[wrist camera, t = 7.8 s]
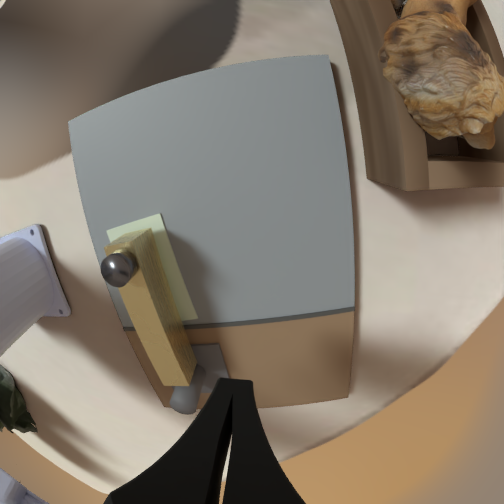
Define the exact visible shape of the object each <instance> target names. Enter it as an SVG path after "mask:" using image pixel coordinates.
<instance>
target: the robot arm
mask: <svg viewBox="0 0 504 504" xmlns="http://www.w3.org/2000/svg"><path fill="white" fill-rule="evenodd" d="M33 231H34V232H33ZM70 314H71V310H70V307H69V305H68V303H67V300H66V298H65V296H64V293H63V291H62V288H61V286H60V283H59V280H58V278H57V275H56V272H55V270H54V267H53V264H52V261H51V258H50V255H49V252H48V249H47V245H46V242H45V239H44V235H43V232H42V228H41V226H40V225H39V224H35V225H32V226H30V227H27V228H24V229H21V230H19V231H16V232H14V233H11V234H9V235H6V236H4V237H1V238H0V357H1V356H2V355H3V354H4V352H5V351H6V350H7V349H8V348H9V347H10V346H11V345H12V344H13V343H14V342H15V341H16V340H18V339H19V338H20V337H21V336H22V335H23V334H24V333H25V332H26V331H27V330H28V329H29V328H30V327H31V326H32V325H33V324H34V323H35V322H36V321H38V320H39V319H40V318H41V317H42V316H60V317H67V316H69V315H70ZM231 435H232V445H231V452H230V458H229V465H228V472H227V478H226V485H225V491H224V497H223V503H222V504H306V503H305V502H304V501H303V499H302V498H301V497H300V496H299V494H298V493H297V491H296V490H295V489H294V487H293V486H292V484H291V483H290V482H289V480H288V478H287V477H286V475H285V473H284V472H283V470H282V468H281V466H280V465H279V463H278V461H277V459H276V457H275V455H274V453H273V451H272V449H271V447H270V444H269V442H268V440H267V437H266V435H265V432H264V429H263V427H262V424H261V420H260V417H259V414H258V410H257V406H256V402H255V397H254V389H253V381H251V380H243V379H231V378H221V377H220V378H218V379H217V382H216V384H215V386H214V388H213V391H212V392H211V394H210V396H209V398H208V400H207V401H206V403H205V405H204V406H203V408H202V409H201V411H200V412H199V414H198V415H197V417H196V418H195V420H194V421H193V422H192V424H191V425H190V426H189V427H188V429H187V430H186V431H185V433H184V434H183V435H182V436H181V437H180V439H179V440H178V441H177V442H176V443H175V444H174V445H173V446H172V447H171V448H170V449H169V450H168V451H167V452H166V453H165V454H164V455H163V456H162V457H161V458H160V459H159V460H157V461H156V462H155V463H154V464H153V465H152V466H150V467H149V468H148V469H146V470H145V471H144V472H142V473H141V474H140V475H138V476H137V477H136V478H134V479H133V480H131V481H129V482H128V483H126V484H124V485H123V486H121V487H119V488H118V489H116V490H114V491H112V492H111V493H110V494H109V495H108V497H107V498H106V500H105V502H104V504H219V497H220V489H221V481H222V475H223V470H224V465H225V461H226V457H227V452H228V448H229V444H230V439H231ZM0 504H49V503H47V502H45V501H44V500H42V499H41V498H39V497H38V496H36V495H35V494H33V493H32V492H30V491H29V490H27V488H26V487H24V486H23V485H22V484H20V483H19V482H18V481H16V480H15V479H14V478H12V477H11V476H10V475H9V474H7V473H6V472H5V471H4V470H3V469H1V468H0Z"/></svg>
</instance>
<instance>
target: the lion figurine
mask: <svg viewBox="0 0 504 504" xmlns="http://www.w3.org/2000/svg"><path fill="white" fill-rule="evenodd" d="M404 1H405V0H391V3H392V5H393V8H394V9H398V8H399V7H400V6H401V5H402V3H403V2H404ZM476 1H477V0H408V1H407V2H406V4H405V6H404V8H403V11H402V14H401V17H400V19H398V20H396V21H395V22H393V23H392V24H391V25H390V26H389V27H388V29H387V31H386V32H385V34H384V41H385V42H384V44H383V46H382V47H381V48H380V50H379V52H378V58H379V60H380V62H382V63H386V60H387V61H388V62H387V66H386V67H384V68H383V76H384V77H385V78H386V79H387V80H388V81H389V82H390V83H392V85H393V87H394V88H395V89H396V90H397V91H398V92H399V94H400V95H401V96H402V98H403V99H404V104H405V105H406V106H407V108H408V112H409V113H410V114H411V115H412V116H413V119H414V120H415V121H416V122H417V123H418V124H419V125H420V126H421V128H422V129H424V130H425V131H427V133H428V134H430V135H431V136H433V137H435V138H436V139H438V140H441V139H443V138H445V137H449V136H459V137H461V138H464V139H466V140H467V142H468V143H469V144H470V145H471V146H472V147H474V148H479V149H483V148H485V149H488V150H489V149H491V148H492V147H493V146H494V145H495V135H494V124H495V123H496V121H497V119H498V117H501V116H502V114H503V113H504V77H503V76H501V75H499V73H498V72H497V68H496V66H495V64H494V63H493V62H492V61H491V58H490V56H489V55H488V54H487V53H486V52H483V51H482V49H481V47H480V45H479V44H478V42H477V41H476V40H474V39H473V38H472V36H471V34H470V33H469V31H468V30H467V29H466V21H467V9H468V7H470V6H471V5H472V4H474V3H475V2H476ZM384 51H385V53H386V57H383V56H380V55H381V54H382V53H383V52H384Z"/></svg>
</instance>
